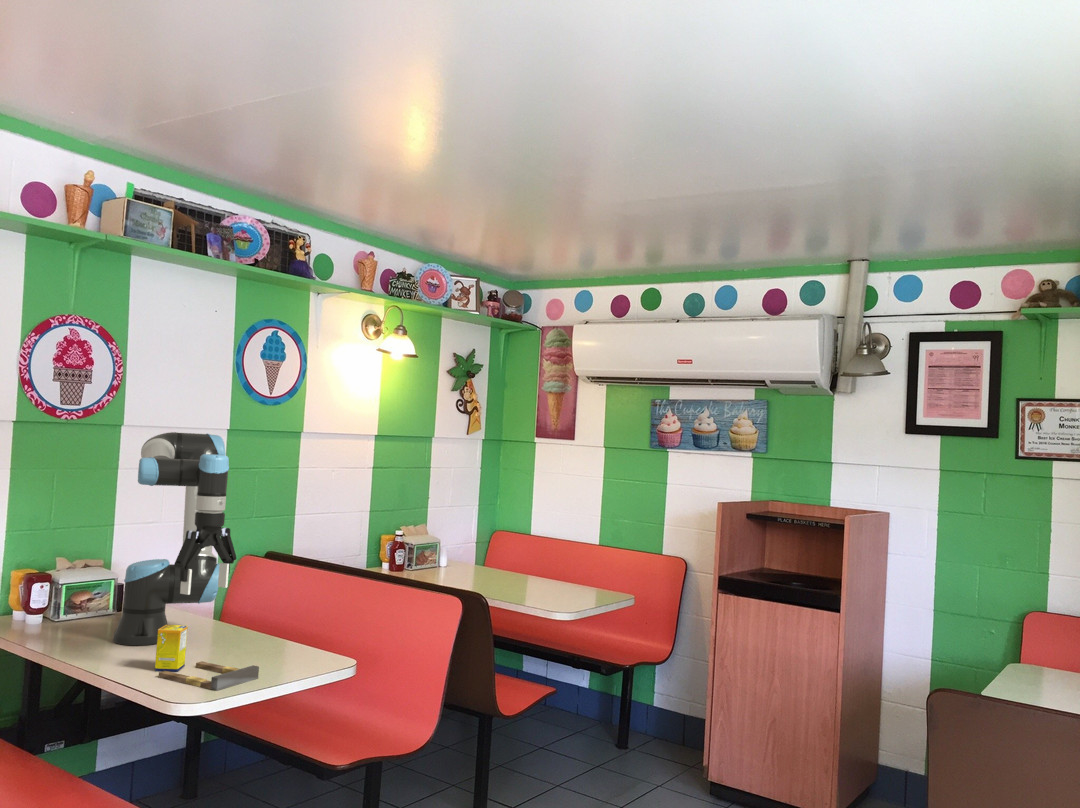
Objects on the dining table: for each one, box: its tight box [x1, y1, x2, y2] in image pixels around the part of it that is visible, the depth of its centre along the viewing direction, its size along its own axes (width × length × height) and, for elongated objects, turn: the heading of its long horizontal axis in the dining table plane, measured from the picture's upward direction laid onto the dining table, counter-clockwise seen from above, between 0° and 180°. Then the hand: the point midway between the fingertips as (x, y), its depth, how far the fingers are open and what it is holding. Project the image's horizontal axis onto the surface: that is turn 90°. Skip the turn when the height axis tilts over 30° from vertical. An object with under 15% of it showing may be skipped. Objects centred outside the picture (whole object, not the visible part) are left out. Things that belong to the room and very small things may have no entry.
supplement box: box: [154, 624, 189, 673], centre depth 225 cm, size 6×6×11 cm
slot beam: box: [158, 660, 260, 692], centre depth 219 cm, size 20×14×3 cm
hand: (204, 590), depth 230 cm, fingers open, 13 cm apart
